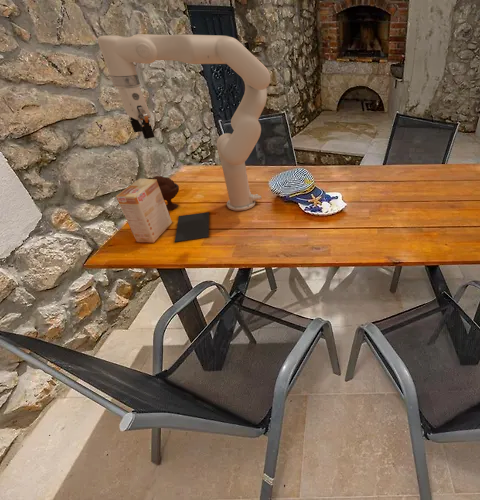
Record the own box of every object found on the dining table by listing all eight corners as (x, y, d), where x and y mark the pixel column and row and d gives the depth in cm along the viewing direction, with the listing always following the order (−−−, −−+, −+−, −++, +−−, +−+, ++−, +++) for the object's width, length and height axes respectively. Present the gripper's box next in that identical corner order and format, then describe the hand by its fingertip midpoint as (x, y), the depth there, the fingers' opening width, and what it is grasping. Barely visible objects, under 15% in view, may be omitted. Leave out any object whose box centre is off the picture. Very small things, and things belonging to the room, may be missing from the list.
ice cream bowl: (174, 214, 137) (163, 182, 128) (152, 211, 139) (139, 179, 130) (189, 203, 146) (180, 172, 137) (167, 200, 147) (157, 169, 138)
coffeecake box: (156, 221, 132) (139, 178, 121) (173, 222, 132) (157, 178, 120) (135, 242, 120) (114, 195, 108) (154, 243, 120) (134, 196, 108)
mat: (209, 212, 139) (208, 212, 139) (208, 237, 124) (208, 236, 124) (179, 216, 136) (178, 216, 136) (174, 242, 121) (174, 241, 120)
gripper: (148, 83, 101) (165, 138, 111) (129, 76, 110) (146, 127, 120) (122, 86, 96) (142, 142, 106) (104, 78, 106) (124, 131, 116)
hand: (144, 134), depth 113 cm, fingers open, 9 cm apart
